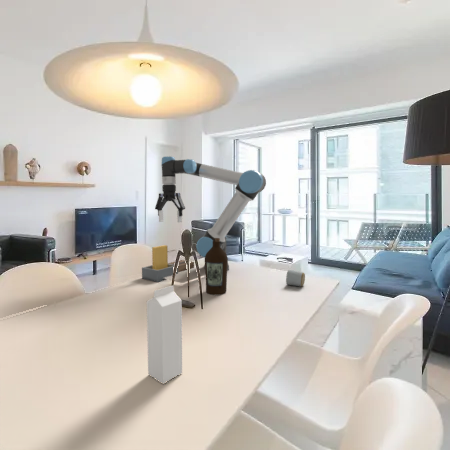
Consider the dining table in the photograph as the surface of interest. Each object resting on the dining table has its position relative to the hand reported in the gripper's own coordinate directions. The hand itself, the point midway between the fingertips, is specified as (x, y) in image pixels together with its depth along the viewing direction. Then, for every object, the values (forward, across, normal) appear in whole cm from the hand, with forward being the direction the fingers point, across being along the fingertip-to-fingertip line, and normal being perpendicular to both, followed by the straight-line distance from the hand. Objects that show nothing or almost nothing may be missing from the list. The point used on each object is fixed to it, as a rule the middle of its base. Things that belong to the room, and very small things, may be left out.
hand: (170, 222), depth 174 cm
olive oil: (+30, +41, -18) cm, 54 cm away
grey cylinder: (+31, +70, +12) cm, 77 cm away
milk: (+30, +65, -80) cm, 107 cm away
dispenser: (+29, +3, +4) cm, 30 cm away
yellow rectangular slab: (+28, +2, -12) cm, 31 cm away
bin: (+29, +2, -12) cm, 32 cm away
